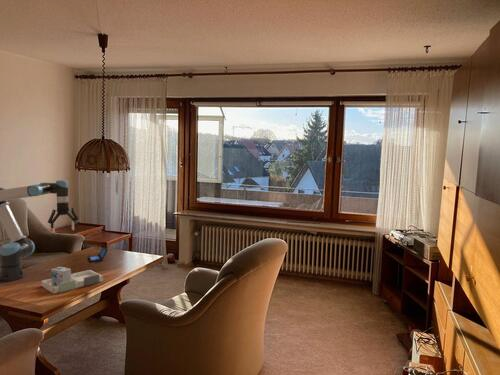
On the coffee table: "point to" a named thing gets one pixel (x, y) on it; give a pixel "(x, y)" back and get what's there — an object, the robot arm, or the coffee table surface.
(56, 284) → the light bulb box
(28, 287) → the coffee table surface
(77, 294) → the coffee table surface
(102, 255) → the handheld game console
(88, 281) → the tagged dock
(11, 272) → the robot arm
